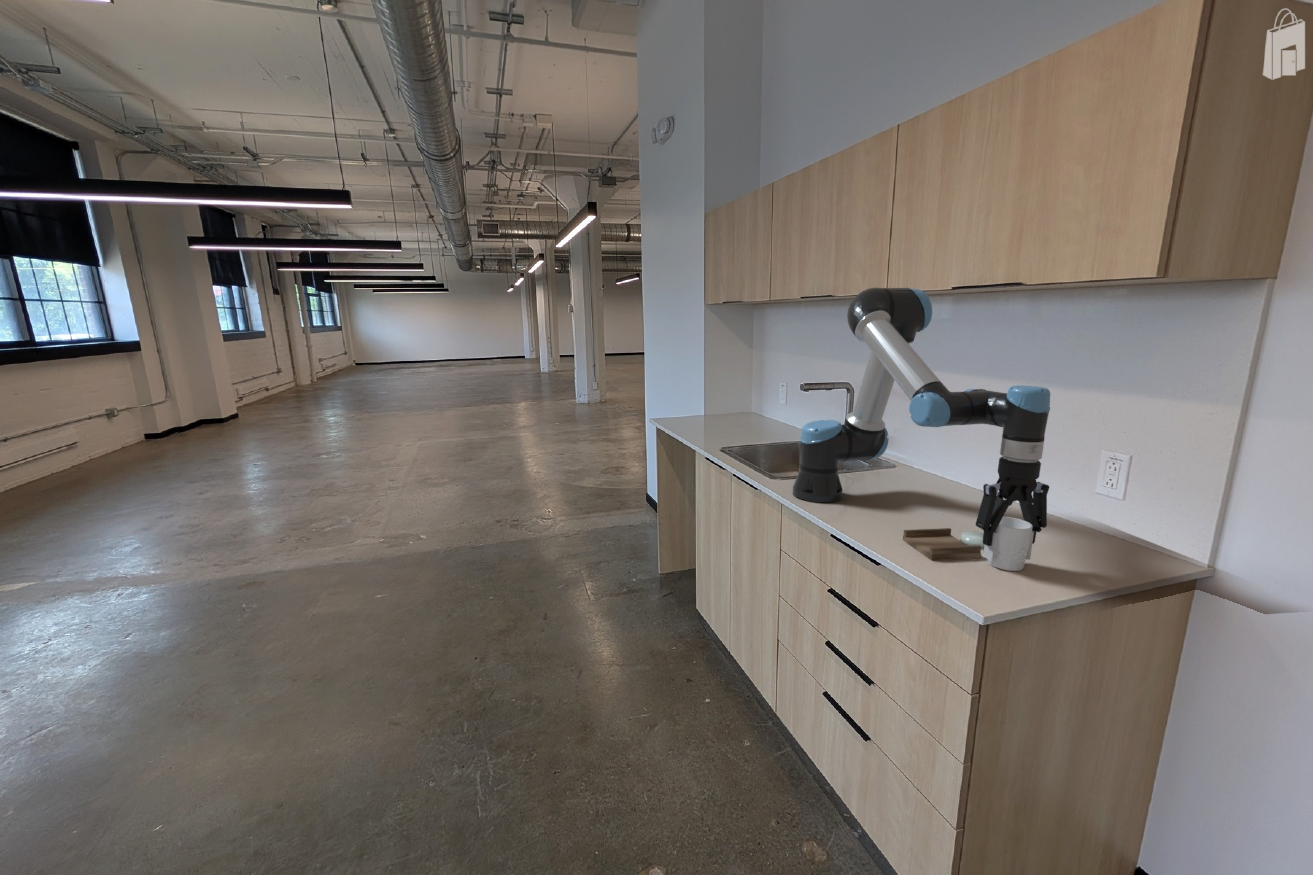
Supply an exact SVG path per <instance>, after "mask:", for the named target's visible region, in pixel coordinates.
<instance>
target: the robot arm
mask: <svg viewBox="0 0 1313 875" xmlns="http://www.w3.org/2000/svg"><path fill="white" fill-rule="evenodd" d="M846 313H847V314H846V316H847V323H848V327H849V330H850V331H851V332H852V334H853V336H855V338H856V339H857V340H858V341H859V342H862V343H865V344H866V345H867V347H868V348H869V349H870V353H869V356H868V360H867V363H866V368H865V370H864V373H863V377H862V380H861V385H860V388H859V391H858V393H857V394H858V395H857V397H856V400H855V404H854V408H853V411H852V412H848V413H847V415H846V417H845V419H844V422H843V424H842V423H841V421H838V420H834V419H826V420H825V419H819V420H814V421H810V422H807V423H806V424H805V425H804V426H803V427H802V429H801V434H800V439H799V440H800V454H799V469H798V473H797V475H796V477H795V480H794V483H793V486H792V495H793V497H795V498H797V497H798V498H797V499H799V498H800V500H802V499H804V500H803V501H806V500H807V501H806V502H811V501H812V502H813V503H822V502H826V503H835V502H839V501H841V500H842V499H843V496H844V494H843V493H844V489H843V486H842V482H841V479H840V475H839V474H840V473H839V469H840V467H839V466H840V463H846V462H856V461H863V462H864V461H865V462H866V461H870V460H875V459H878V458H879V457H881V456H883V455H884V453H885V452H886V451H887V449H888V444H889V439H890V438H889V437H888V436H889V432H888V430H887V428H886V423H885V421H884V420H883V416H884V413H885V410H886V407H887V405H888V403H889V398H890V395H891V392H892V389H893V386H894V383H895V382H896V384H897V385H898V386H899V387H900V389H901V390H902V391H903V392H904V394H905V396H907V397H908V399H909V400H910V403H909V408H908V409H909V410H908V412H909V413H910V419H911V421H912V422H913V423H915V425H916V426H919V427H925V428H926V427H927V428H929V427H930V428H941V427H949V426H969V425H988V426H989V425H990V426H995V427H1000V428H1002V434H1001V440H1000V441H1001V443H1000V450H999V455H1000V456H1001V457H999V458H998V465H997V466H998V467H997V474H998V479H997V481H996V483H992V484H988V483H984V484H983V486H982V487H983V489H982V491H983V495H982V499H981V503H980V507H979V510H978V512H977V513H978V514H977V517H976V521H975V526H976V527H977V528H979V529H981V530H982V531H983V533H984V534H983V544H985V546H984V549H983V553H982V554H983V555H982V556H983V557H984V558H985V559H987V560H988V559H989V560H990V561H995V557H996V549H997V542H998V534H999V533H997V532H995V531H996V529H997V527H998V525H999V523H1000V521H1001V519H1002V518H1003V517H1005V514H1006V512H1007V510H1008V508H1009V507H1010V506H1012V505H1013V502H1017V501H1018V502H1019V507H1020V510H1021V514H1022V519H1023V520H1024V521H1027V522H1029V523H1030V524H1032V525H1033V528H1032V533H1031V538H1030V543H1029V548H1028V551H1027V556H1026V558H1025V560H1031V556H1032V549H1033V545H1034V544H1035V542H1036V538H1037V537H1036V536H1037V533H1040V532H1042V528H1043V529H1044V528H1046V527H1047V524H1048V522H1047V521H1048V517H1047V516H1048V515H1047V514H1048V505H1047V504H1048V501H1047V500H1048V497H1047V496H1048V492H1049V490H1050V485H1048V484H1045V483H1043V482H1040V481H1037V480H1038V479H1039V478H1040V475H1041V466H1042V462H1040V460H1041V459H1042V458H1043V453H1044V452H1043V451H1044V446H1045V438H1046V437H1045V435H1046V430H1047V423H1048V419H1049V413H1050V411H1051V407H1050V406H1051V404H1050V403H1051V391H1050V389H1049V388H1047V387H1044V386H1036V385H1035V386H1033V385H1012V386H1009V388H1008V390H1007V392H999V391H993V390H986V389H983V388H969V389H966V390H964V391H950V390H949V389H948V387H946V385H944V383H943V382H942V381H941V380H940V379H939V377H938V376H937V375H936V374H935V373H934V372H933V371H932V369H931V368H930V366H928V364H926V362H925V361H924V360H923V359H922V358H921V357H920V356H919V354H918V353H917V352H916V351H915V350H914V349H913V347H912V346H911V344H913V343H914V340H915V339H916V336H917V333H919V332H922V331H924V330H925V329H926V328H927V327H928V326H929V325H930V323H931V321H932V317H933V305H932V302H931V299H930V297H929V295H928V294H927V293H926V292H925V291H923V290H921V289H919V288H910V287H869V288H867V289H864V290H862V291H861V292H859V293H857V295H856V296H854V298H852V300H851V302H850V303H849V306H848V309H847V312H846ZM990 525H991V526H990Z"/></svg>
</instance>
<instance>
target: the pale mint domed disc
mask: <svg viewBox="0 0 1313 875" xmlns="http://www.w3.org/2000/svg"><path fill="white" fill-rule="evenodd" d="M983 534H984V532H979V531H964V532H962V533H961V535H960V541H962V542H963V543H965V544H967V545H969V546H972V545H979V546H981V550H984V546H985V544H983Z"/></svg>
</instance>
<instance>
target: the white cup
mask: <svg viewBox="0 0 1313 875" xmlns="http://www.w3.org/2000/svg"><path fill="white" fill-rule="evenodd" d="M990 526H991V525H990ZM1032 528H1033V525H1032V524H1030V523H1029V522H1027V521H1024V519H1022V518H1021V519H1020V518H1017V517H1010V516H1003V518H1002V519H1001V521H1000V523H999V525H998V527H997V529H996V531H995V532H997V533H999V534H998V542H997V549H996V557H995V561H990V560H989V559H987V561H988V562H987V563H988V564H990V565H991V566H992V567H995V568H996V569H999V570H1004V571H1008V572H1017V571H1022V570H1023V569H1024V567H1025V563H1026V559H1025V558H1026V556H1027V551H1028V548H1029V543H1030V538H1031V533H1032Z"/></svg>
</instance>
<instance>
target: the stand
mask: <svg viewBox="0 0 1313 875" xmlns="http://www.w3.org/2000/svg"><path fill="white" fill-rule="evenodd" d="M902 541H903V542H905V543H906V544H907V545H909V546H910V547H912V548H913V549H915V550H916V551H917V552H919V553H920V554H922V555H923V556H924V557H926V558H928V559H929V560H930V561H944V560H962V559H981V556H982V552H981V551H982V549H981V546H979V545H972V546H969V545H967V544H965V543H963V542H962V541H961V539H958V538H957V537H955V536H953V535H952V529H951V528H950V527H945V528H943V527H941V528H923V529H922V528H919V529H904V530H903V535H902Z"/></svg>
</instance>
